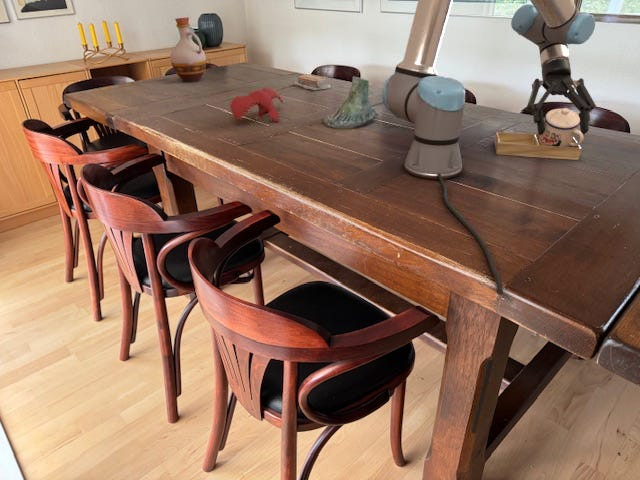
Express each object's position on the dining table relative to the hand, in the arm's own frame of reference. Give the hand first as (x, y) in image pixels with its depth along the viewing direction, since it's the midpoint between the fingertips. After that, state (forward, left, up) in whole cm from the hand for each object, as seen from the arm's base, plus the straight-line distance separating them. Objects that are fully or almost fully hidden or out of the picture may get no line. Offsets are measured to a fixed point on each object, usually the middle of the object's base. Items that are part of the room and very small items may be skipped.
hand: (563, 132), depth 128 cm
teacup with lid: (+3, 0, -5) cm, 6 cm away
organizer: (+3, +6, -7) cm, 9 cm away
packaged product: (+78, +97, -7) cm, 125 cm away
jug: (+81, +163, -7) cm, 182 cm away
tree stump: (+23, +66, -7) cm, 71 cm away
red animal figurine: (+18, +98, -7) cm, 100 cm away
